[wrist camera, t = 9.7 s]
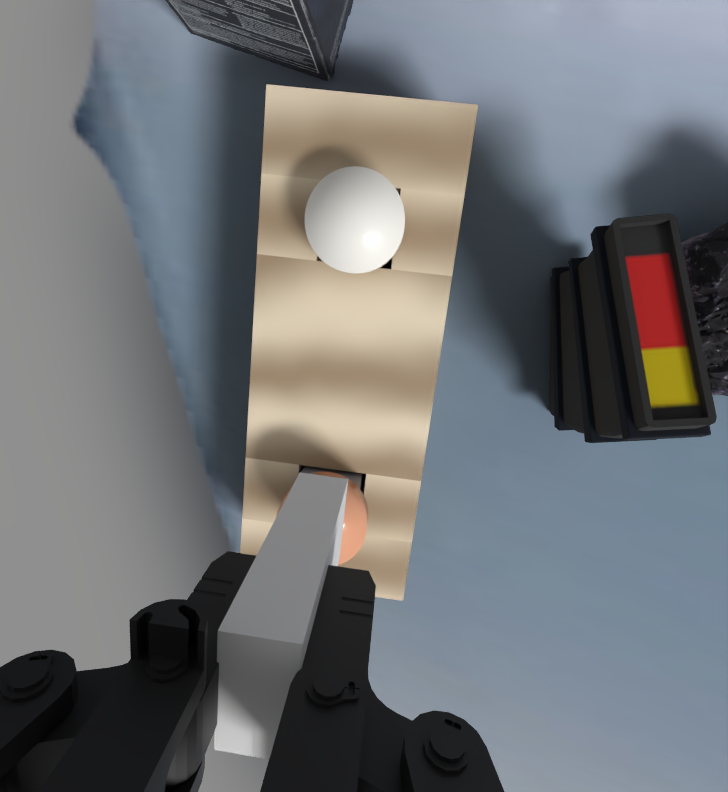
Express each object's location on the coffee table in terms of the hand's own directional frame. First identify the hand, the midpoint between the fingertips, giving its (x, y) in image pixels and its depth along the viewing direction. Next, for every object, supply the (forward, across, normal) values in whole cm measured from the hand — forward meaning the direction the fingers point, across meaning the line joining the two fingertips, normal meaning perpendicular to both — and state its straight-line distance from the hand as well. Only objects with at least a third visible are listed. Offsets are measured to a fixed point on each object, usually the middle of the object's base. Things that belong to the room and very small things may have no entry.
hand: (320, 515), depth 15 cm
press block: (+24, -2, 0) cm, 24 cm away
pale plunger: (+22, -2, +10) cm, 24 cm away
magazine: (+24, +14, +4) cm, 28 cm away
